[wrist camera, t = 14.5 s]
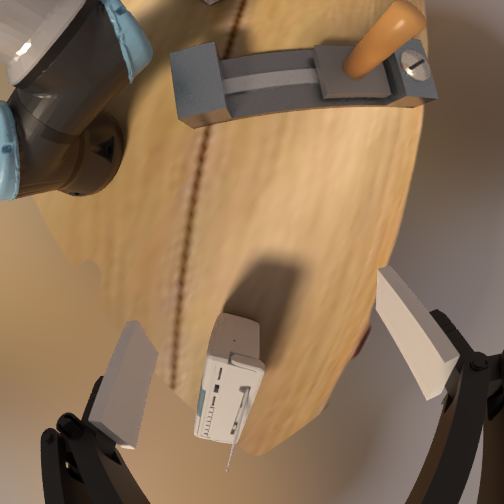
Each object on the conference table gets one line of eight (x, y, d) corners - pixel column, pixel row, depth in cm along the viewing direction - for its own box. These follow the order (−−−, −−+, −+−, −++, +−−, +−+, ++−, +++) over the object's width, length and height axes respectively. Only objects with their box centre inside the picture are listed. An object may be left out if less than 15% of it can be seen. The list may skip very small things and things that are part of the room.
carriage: (323, 98, 33) (375, 42, 14) (311, 52, 31) (346, -24, 12) (384, 97, 32) (462, 59, 14) (372, 53, 30) (434, -4, 11)
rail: (193, 128, 37) (176, 118, 29) (184, 72, 34) (167, 51, 26) (412, 107, 34) (441, 98, 26) (398, 56, 32) (422, 38, 23)
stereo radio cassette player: (218, 307, 45) (194, 390, 26) (266, 317, 45) (268, 405, 26) (202, 389, 51) (183, 467, 32) (240, 397, 51) (233, 476, 32)
